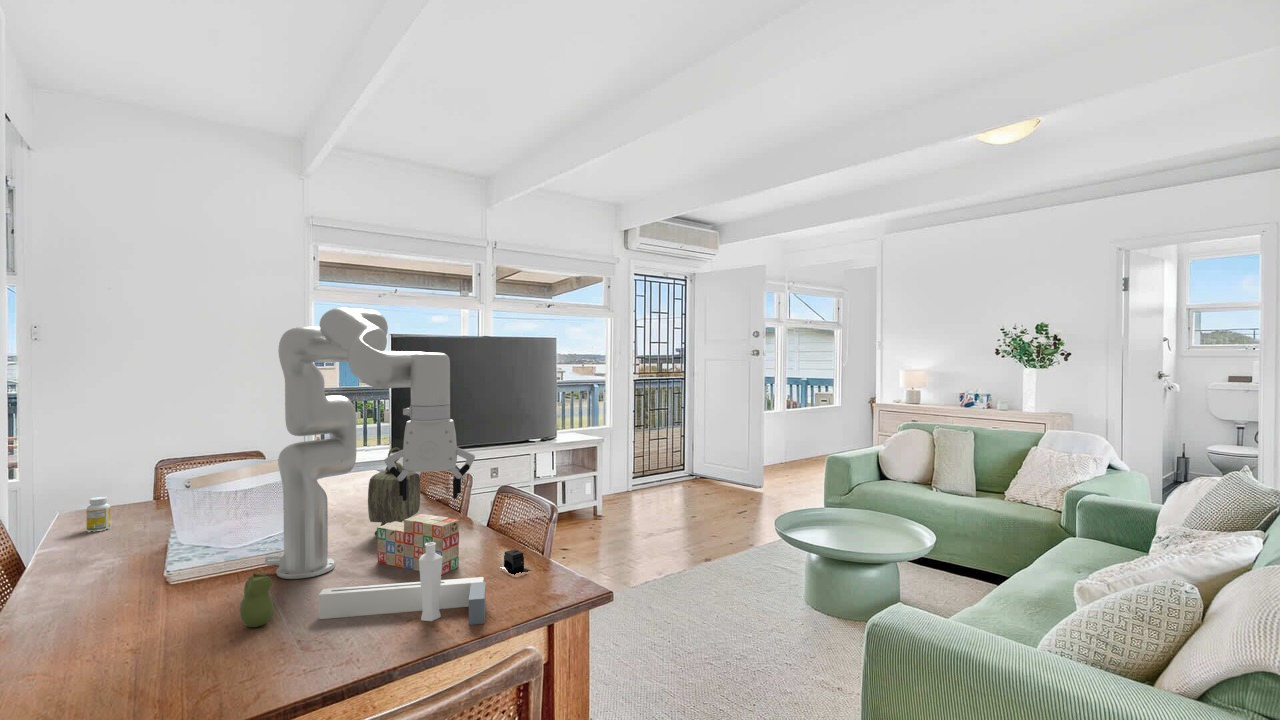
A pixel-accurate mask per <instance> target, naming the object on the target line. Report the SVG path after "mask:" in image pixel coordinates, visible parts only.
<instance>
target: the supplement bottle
mask: <svg viewBox="0 0 1280 720" xmlns="http://www.w3.org/2000/svg"><path fill="white" fill-rule="evenodd" d="M107 502H108V497H107V496H97V497H92V498H91V497H90V498H89V504H90V505H88V506H87V507H86V531H87V530H88V531H97V530H104V529H107V528H109V527H110V528H111V504H109V503H107ZM110 528H109V529H110ZM88 531H87V532H88Z"/></svg>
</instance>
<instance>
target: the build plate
mask: <svg viewBox="0 0 1280 720" xmlns="http://www.w3.org/2000/svg"><path fill="white" fill-rule="evenodd" d="M503 564H504V566H500V568H502V569H505V570H506V571H507V572H509V573H511V574H514V575H515V574H516V573H519V572H521V573H522V572H528V571H532V570H533V569H531V570H529V569H530V568H529V569H527V568H528V567H527V568H524V566H525V557H524V552H522V551H520V550H518V549H517V548H514V549H510V550H506V551H504V555H503Z"/></svg>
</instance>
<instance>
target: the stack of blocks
mask: <svg viewBox="0 0 1280 720" xmlns="http://www.w3.org/2000/svg"><path fill="white" fill-rule="evenodd" d="M376 531H377V536H376V538H377V545H376V546H377V563H379V564H384V565H389V566H392V567H398V568H402V569H407V570H414V571H419V572H420V569H419V559H420V557H421V556H422V555H423V554H425V553H426V546H425V544H426V543H429V542H434V543H436V544H435V553H437V554H439V555H441V556H443V558H442V572H441V575H442V576H443V575H444V576H445V575H446V574H448V573H451V572H452V571H454V570H456V568H457V569H459V565H460V564H459V563H460V562H459V561H460V557H459V555H460V554H459V553H460V551H459V550H460V547H459V545H460V544H459V543H460V520H459V519H457V518H450V517H447V516H437V515H432V514H431V515H430V514H425V513H420V514H416V515H415V516H414V515H413V516H411V517H410V518H408V519H405V520H404V521H402V522H397V521H395V522H391V523H386V524H385V525H383V526H381V525H380V526H377V527H376Z"/></svg>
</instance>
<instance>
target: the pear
mask: <svg viewBox="0 0 1280 720" xmlns="http://www.w3.org/2000/svg"><path fill="white" fill-rule="evenodd" d="M272 586H273V581H272V579H271V577H270V576H269V575H266V574H265V573H262V572H261V573H253V574H252V575H251V576H250V577H247V581H246V582H245V585H244V587H243V597H242V598H241V601H240V605H239V616H240V620H241V621H242V623H243V624H244V625H245V626H247V627H249V628H259V627H261V626H264V625H265V624H267V623H268V622H269V621H271V619H272V617H273V615H274V611H275V610H274V607H275V606H274V602H273V598H272V595H271V592H270V590H271V588H272Z"/></svg>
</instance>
